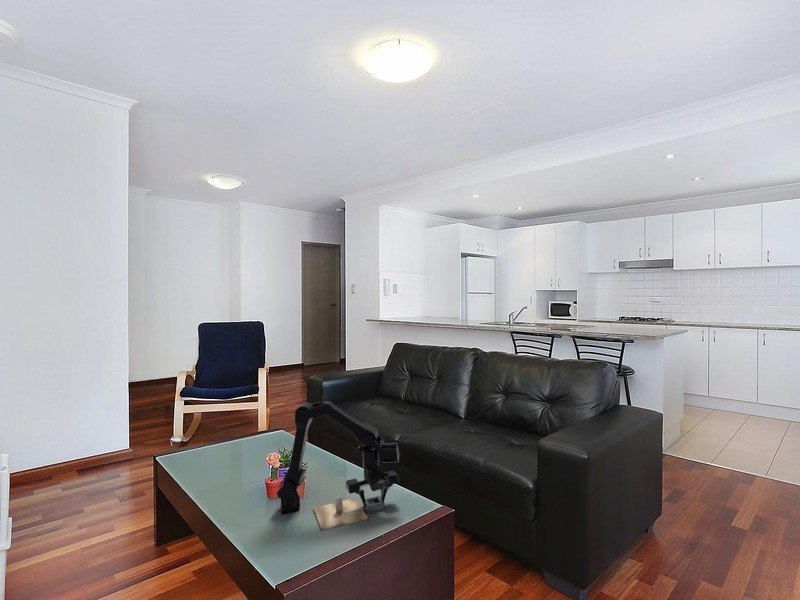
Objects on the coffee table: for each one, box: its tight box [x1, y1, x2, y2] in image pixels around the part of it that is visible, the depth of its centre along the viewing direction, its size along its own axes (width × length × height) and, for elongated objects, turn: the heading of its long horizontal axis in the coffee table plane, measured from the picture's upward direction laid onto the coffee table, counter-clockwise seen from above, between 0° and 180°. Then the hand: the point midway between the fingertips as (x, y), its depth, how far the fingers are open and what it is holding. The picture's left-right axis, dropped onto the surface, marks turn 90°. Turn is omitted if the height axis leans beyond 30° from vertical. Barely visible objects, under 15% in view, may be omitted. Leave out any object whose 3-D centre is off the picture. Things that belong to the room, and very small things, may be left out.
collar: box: [362, 495, 386, 514], centre depth 164 cm, size 6×6×2 cm
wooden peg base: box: [312, 495, 368, 531], centre depth 160 cm, size 16×16×6 cm
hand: (373, 504), depth 164 cm, fingers closed on collar, 6 cm apart
